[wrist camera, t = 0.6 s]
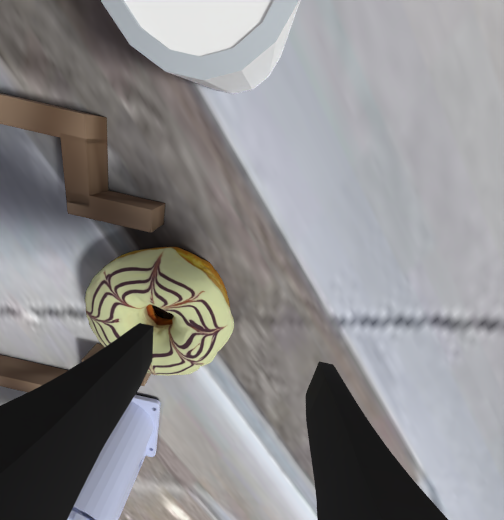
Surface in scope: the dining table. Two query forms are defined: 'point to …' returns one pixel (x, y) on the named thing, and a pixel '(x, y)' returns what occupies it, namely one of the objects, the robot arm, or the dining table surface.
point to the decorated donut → (163, 306)
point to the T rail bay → (75, 198)
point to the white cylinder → (208, 37)
